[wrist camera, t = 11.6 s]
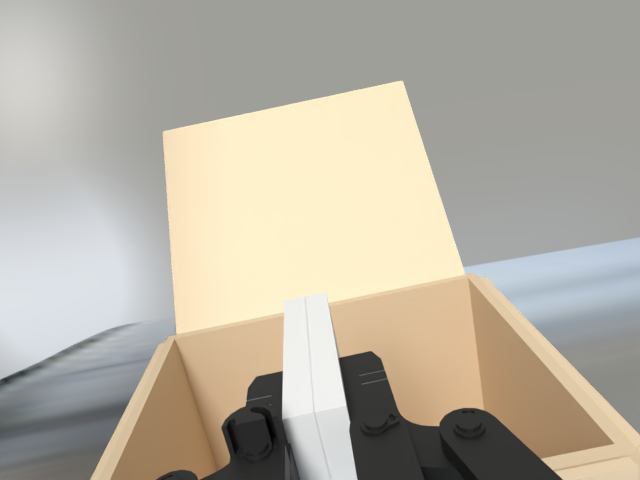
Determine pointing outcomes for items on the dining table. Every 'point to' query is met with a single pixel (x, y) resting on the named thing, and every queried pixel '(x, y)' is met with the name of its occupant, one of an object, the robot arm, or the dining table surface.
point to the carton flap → (302, 207)
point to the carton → (403, 375)
